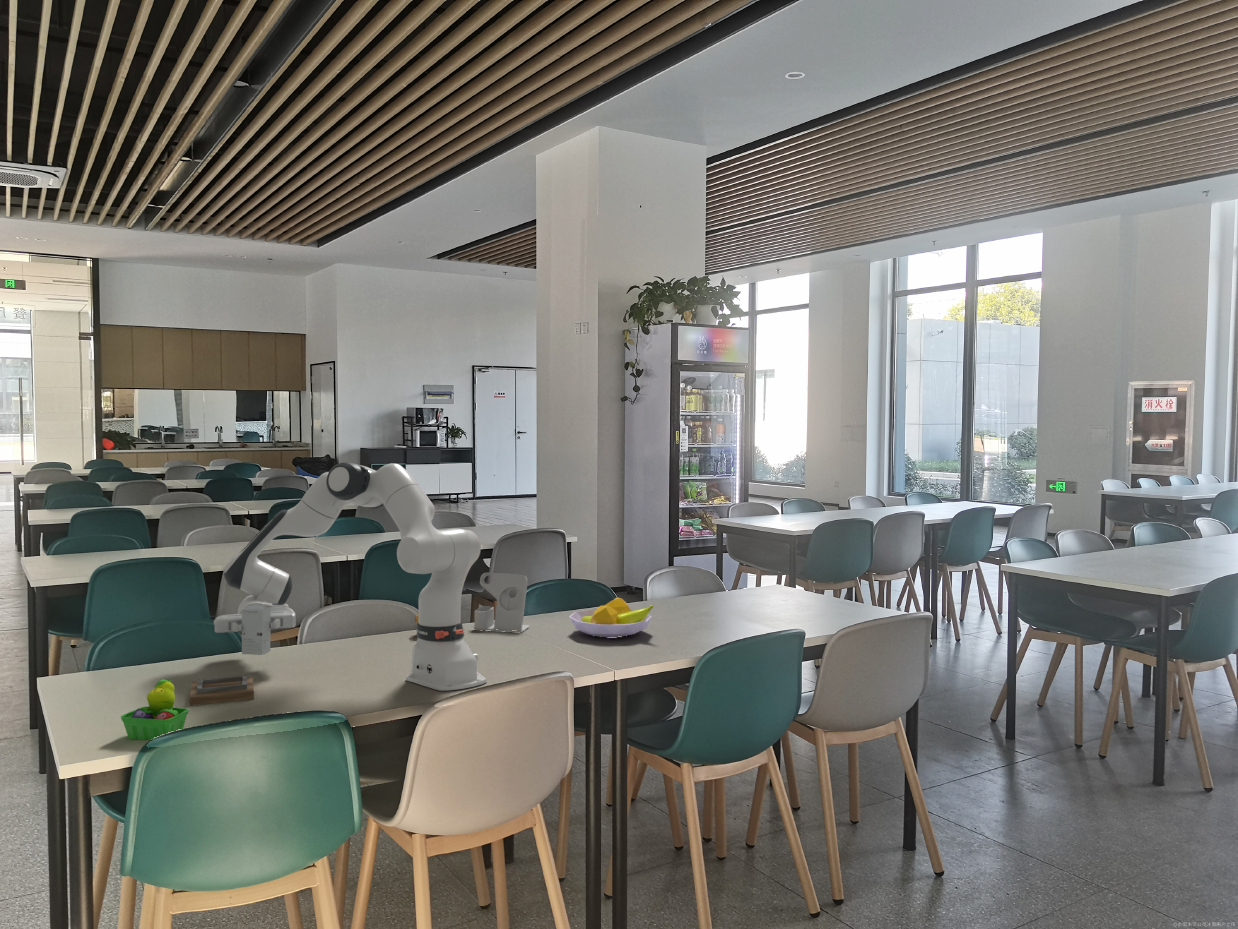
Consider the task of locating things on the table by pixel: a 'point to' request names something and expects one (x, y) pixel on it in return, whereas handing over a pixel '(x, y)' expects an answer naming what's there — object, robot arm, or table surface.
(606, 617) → the fruit bowl
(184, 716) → the fruit basket
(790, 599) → the table surface
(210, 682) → the socket plinth
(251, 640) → the skincare box
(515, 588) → the phone holder
